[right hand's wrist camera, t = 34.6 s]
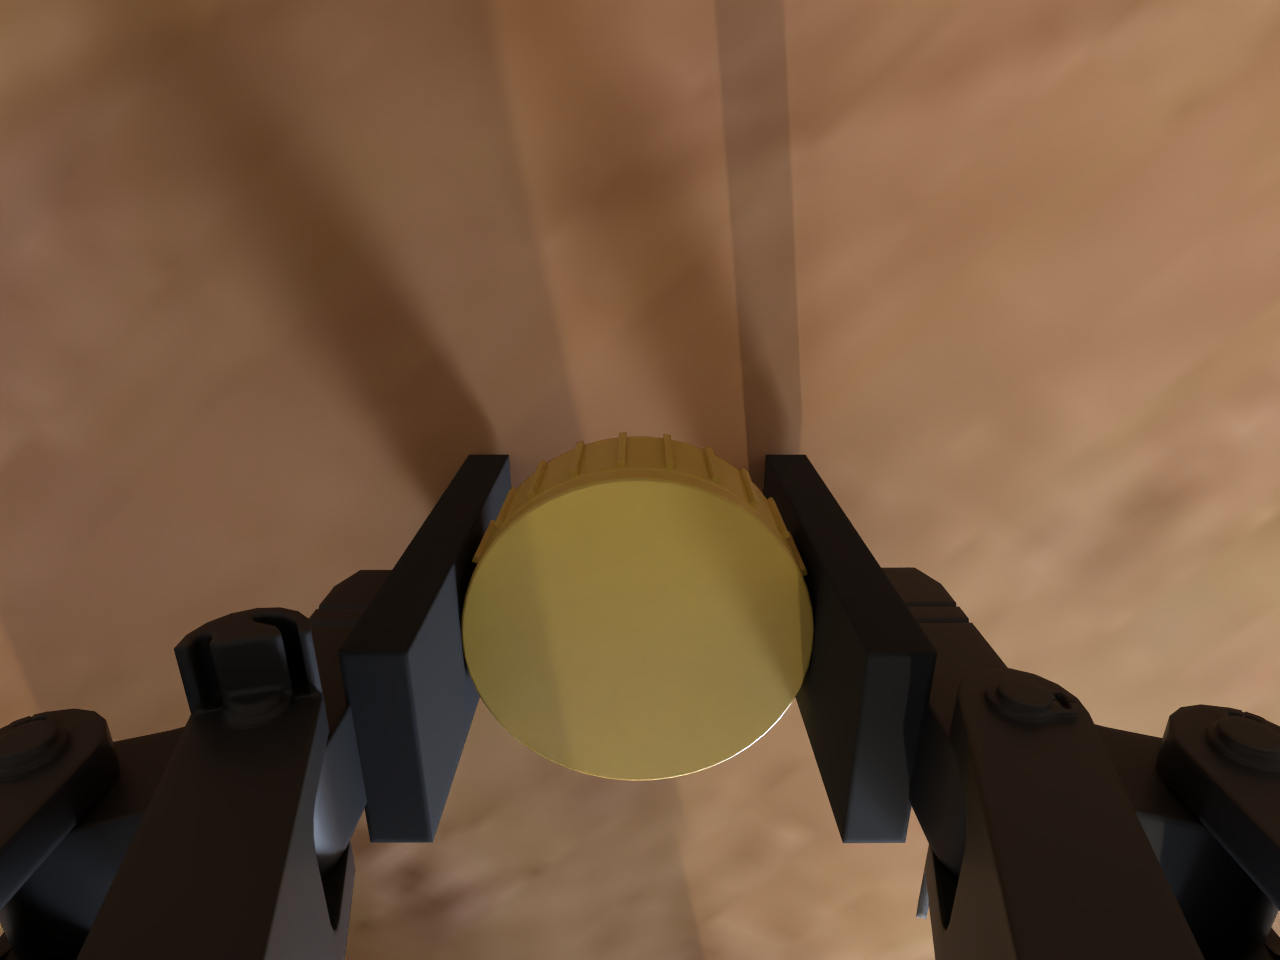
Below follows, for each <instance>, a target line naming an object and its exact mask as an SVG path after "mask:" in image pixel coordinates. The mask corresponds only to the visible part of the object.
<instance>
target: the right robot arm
mask: <svg viewBox="0 0 1280 960" xmlns="http://www.w3.org/2000/svg"><path fill="white" fill-rule="evenodd" d="M510 489H511V481H510V466H509V455H469V456H468V457H467V459H466V460H465V462H464V463H463V465H462V466H461V468H460V469H459V471H458V472H457V474H456V475H455V477H454V478H453V480H452V481H451V483H450V484H449V486H448V487H447V489H446V490H445V492H444V493H443V495H442V496H441V498H440V499H439V501H438V502H437V504H436V505H435V507H434V508H433V510H432V511H431V513H430V514H429V516H428V517H427V519H426V520H425V522H424V523H423V525H422V526H421V528H420V529H419V531H418V532H417V534H416V535H415V537H414V538H413V540H412V541H411V543H410V544H409V546H408V547H407V549H406V550H405V552H404V553H403V555H402V556H401V558H400V559H399V561H398V562H397V564H396V565H395V567H394V568H393V570H360V571H358V572H357V573H355V574H353V575H352V576H350V577H349V578H347V579H345V580H344V581H342V582H341V583H339V584H337V585H336V586H334V587H333V589H332V590H331V591H330V593H329V594H328V595H327V596H326V598H325V599H324V600H323V601H322V603H321V604H320V605H319V609H316V610H315V612H314V613H313V614H312V615H311V617H310V618H309V619H308V618H307V617H305V616H304V615H303V614H301V613H300V612H299V611H294V610H290V609H285V608H256V609H251V610H246V611H241V612H236V613H231V614H229V615H226V616H223V617H221V618H218V619H215V620H213V621H210V622H207V623H206V624H204V625H202V626H201V627H199V628H197V629H196V630H194V631H192V632H191V633H189V634H187V635H186V636H185V637H184V638H183V639H182V640H181V642H180V643H179V644H178V645H177V646H176V647H175V648H174V651H175V655H176V659H177V663H178V666H179V670H180V674H181V678H182V681H183V685H184V689H185V693H186V696H187V700H188V704H189V708H190V711H191V716H190V718H189V720H188V722H187V724H186V726H185V727H182V728H178V729H175V730H171V731H166V732H161V733H156V734H151V735H146V736H141V737H136V738H131V739H126V740H121V741H116V742H113V741H112V738H111V735H110V731H109V728H108V725H107V722H106V720H105V719H104V718H103V717H101V716H100V715H99V714H97V713H96V712H95V711H88V710H81V709H67V710H59V711H51V712H44V713H39V714H35V715H34V716H32V717H30V716H28V717H25V718H22V719H19V720H16V721H14V722H12V723H11V724H9V725H7V726H5V727H3V728H1V729H0V923H1V925H2V928H3V930H4V933H3V934H2V935H1V936H0V960H345V953H346V945H347V936H348V927H349V919H350V910H351V901H352V893H353V884H354V876H355V866H354V859H353V853H352V847H351V842H350V838H351V836H352V834H353V832H354V830H355V827H356V825H357V823H358V821H359V819H360V816H361V814H362V812H363V810H364V808H365V813H366V819H367V825H368V831H369V836H370V842H433V840H434V837H435V834H436V831H437V827H438V824H439V821H440V818H441V815H442V812H443V809H444V806H445V803H446V800H447V797H448V793H449V790H450V787H451V784H452V781H453V778H454V775H455V772H456V769H457V766H458V762H459V759H460V756H461V753H462V750H463V747H464V744H465V741H466V738H467V735H468V731H469V728H470V725H471V722H472V719H473V716H474V713H475V710H476V707H477V704H478V701H479V697H480V695H479V694H478V692H477V690H476V688H475V685H474V683H473V681H472V679H471V677H470V674H469V671H468V668H467V664H466V660H465V657H464V653H463V645H462V636H461V622H462V610H463V604H464V599H465V594H466V591H467V588H468V585H469V582H470V579H471V577H472V574H473V572H474V570H475V567H476V565H477V564H476V563H474V562H472V560H473V558H474V555H475V553H476V551H477V549H478V547H479V545H480V543H481V540H482V538H483V536H484V534H485V532H486V530H487V528H488V526H489V523H490V521H491V520H494V521H496V518H497V516H498V514H499V512H500V510H501V507H502V505H503V503H504V501H505V499H506V496H507V494H508V492H509V490H510ZM763 495H764V496H765V497H766V499H769V498H770V497H772V498H773V500H774V501H775V503H776V505H777V508H778V510H779V512H780V515H781V517H782V519H783V522H784V524H785V526H786V528H787V531H788V532H790V533H791V536H792V538H793V540H794V543H795V545H796V547H797V549H798V552H799V554H800V556H801V558H802V561H803V563H804V565H805V567H806V570H807V573H808V575H806V576H803V578H804V580H805V583H806V585H807V587H808V591H809V595H810V599H811V604H812V608H813V619H814V638H813V649H812V654H811V658H810V663H809V667H808V670H807V672H806V675H805V677H804V680H803V683H802V685H801V687H800V689H799V691H798V693H797V695H796V696H795V697H796V700H797V703H798V706H799V709H800V712H801V715H802V718H803V721H804V724H805V728H806V731H807V734H808V737H809V740H810V743H811V746H812V749H813V752H814V755H815V758H816V761H817V764H818V768H819V771H820V774H821V777H822V780H823V783H824V786H825V789H826V792H827V795H828V798H829V801H830V805H831V808H832V811H833V814H834V817H835V820H836V823H837V826H838V829H839V832H840V835H841V838H842V841H843V843H905V840H906V834H907V828H908V823H909V817H910V811H911V805H912V808H913V810H914V812H915V814H916V816H917V818H918V821H919V823H920V825H921V827H922V829H923V832H924V834H925V836H926V838H927V840H928V842H929V847H928V853H927V858H926V863H925V869H924V874H923V880H922V885H921V890H920V896H919V901H918V908H917V914H916V917H918V918H922V919H926V917H927V912H928V907H929V908H930V917H931V925H932V934H933V943H934V951H935V960H1280V937H1279V936H1278V935H1277V934H1276V933H1275V931H1274V930H1273V929H1272V928H1271V927H1272V925H1273V922H1274V920H1275V918H1276V915H1277V913H1278V911H1280V726H1278V725H1275V724H1273V723H1271V722H1269V721H1267V720H1265V719H1264V718H1262V717H1260V716H1257V715H1254V714H1251V713H1248V712H1245V713H1244V712H1242V710H1237V709H1233V708H1227V707H1218V706H1209V705H1194V706H1187V707H1181V708H1179V709H1178V710H1177V711H1175V712H1174V713H1173V714H1171V715H1170V716H1169V720H1168V723H1167V726H1166V729H1165V732H1164V736H1163V738H1158V737H1153V736H1148V735H1143V734H1138V733H1133V732H1128V731H1123V730H1118V729H1113V728H1108V727H1103V726H1099V725H1095V724H1094V723H1093V721H1092V718H1091V716H1090V714H1089V713H1088V711H1087V710H1086V709H1085V707H1084V706H1083V705H1082V704H1081V702H1080V701H1079V700H1078V698H1076V697H1075V696H1074V695H1072V694H1071V693H1069V692H1068V691H1067V690H1065V689H1064V688H1062V687H1061V686H1059V685H1058V684H1056V683H1053V682H1051V681H1049V680H1047V679H1044V678H1042V677H1040V676H1037V675H1035V674H1031V673H1027V672H1023V671H1019V670H1014V669H1010V668H1007V666H1006V665H1005V664H1004V663H1003V661H1002V660H1001V659H1000V657H999V656H998V655H997V654H996V652H995V651H994V650H993V649H992V647H991V646H990V645H989V644H988V642H987V641H986V640H985V639H984V637H983V636H982V635H981V634H980V632H979V631H978V630H977V629H976V627H975V626H974V625H973V624H972V623H969V619H968V617H967V616H966V615H965V614H964V612H963V611H962V610H961V609H960V607H956V602H955V601H954V600H953V598H952V597H951V596H950V595H949V593H948V592H947V591H946V590H945V588H944V587H943V586H942V585H941V584H940V583H939V582H937V581H935V580H934V579H932V578H931V577H929V576H927V575H926V574H924V573H922V572H921V571H919V570H918V569H916V568H881V567H880V566H879V564H878V563H877V561H876V560H875V558H874V557H873V555H872V554H871V552H870V551H869V549H868V548H867V546H866V545H865V543H864V542H863V540H862V539H861V537H860V536H859V534H858V533H857V531H856V530H855V528H854V527H853V525H852V524H851V522H850V521H849V519H848V518H847V516H846V515H845V513H844V512H843V510H842V509H841V507H840V506H839V504H838V503H837V501H836V500H835V498H834V497H833V495H832V494H831V492H830V491H829V489H828V488H827V486H826V485H825V483H824V482H823V480H822V479H821V477H820V476H819V474H818V473H817V471H816V470H815V468H814V467H813V465H812V464H811V462H810V461H809V459H808V458H807V456H806V455H766V463H765V479H764V494H763Z"/></svg>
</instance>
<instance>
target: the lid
mask: <svg viewBox="0 0 1280 960" xmlns="http://www.w3.org/2000/svg"><path fill="white" fill-rule="evenodd" d="M472 562H474V563H476V564H477V565H476V567H475V570H474V572H473V574H472V577H471V579H470V582H469V585H468V588H467V591H466V594H465V599H464V604H463V610H462V622H461V636H462V645H463V653H464V657H465V660H466V664H467V668H468V671H469V674H470V677H471V679H472V681H473V683H474V685H475V688H476V690H477V692H478V694H479V695H480V697H481V699H482V700H483V702H484V703H485V705H486V707H487V708H488V710H489V711H490V712H491V713H492V714H493V716H494V717H495V718H496V719H497V720H498V722H499V723H500V724H501V725H502V726H503V727H504V728H505V729H506V730H507V731H508V732H509V733H511V734H512V735H513V736H514V737H515V738H516V739H517V740H519V741H520V742H521V743H523V744H524V745H526V746H527V747H528V748H530V749H531V750H532V751H534V752H536V753H538V754H540V755H541V756H543V757H545V758H547V759H548V760H550V761H553V762H555V763H557V764H560V765H562V766H564V767H567V768H569V769H572V770H575V771H579V772H582V773H585V774H589V775H593V776H599V777H604V778H609V779H619V780H631V781H632V780H658V779H666V778H674V777H678V776H682V775H687V774H691V773H695V772H698V771H701V770H704V769H707V768H709V767H712V766H715V765H717V764H719V763H721V762H723V761H725V760H727V759H730V758H732V757H733V756H735V755H737V754H738V753H740V752H742V751H743V750H745V749H746V748H748V747H750V746H751V745H752V744H753V743H755V742H756V741H757V740H758V739H760V738H761V737H762V736H763V735H765V734H766V733H767V732H768V731H769V730H770V729H771V728H772V727H773V726H774V725H775V724H776V723H777V722H778V721H779V719H780V718H781V717H782V715H783V714H784V713H785V712H786V710H787V709H788V708H789V706H790V705H791V703H792V702H793V700H794V698H795V696H796V695H797V693H798V691H799V689H800V687H801V685H802V683H803V680H804V677H805V675H806V672H807V670H808V667H809V663H810V658H811V654H812V649H813V638H814V619H813V608H812V604H811V599H810V595H809V591H808V587H807V585H806V583H805V580H804V578H803V576H806V575H808V573H807V570H806V567H805V565H804V563H803V561H802V558H801V556H800V554H799V552H798V549H797V547H796V545H795V543H794V540H793V538H792V536H791V533H790V532H788V531H787V528H786V526H785V524H784V522H783V519H782V517H781V515H780V512H779V510H778V508H777V505H776V503H775V501H774V500H773V498H772V497H770V498H769V499H766V497H765V496H764V495H763V494H762V492H761V491H760V490H759V489H758V488H757V486H756V485H755V484H754V483H753V482H752V481H751V478H750V475H749V473H748V471H747V470H746V469H744V468H742V469H741V470H740V471H739V470H738V469H736V468H735V467H734V466H732V465H731V464H729V463H728V462H726V461H725V460H723V459H721V458H719V457H717V456H716V455H714V453H713V449H712V448H710V447H708V446H706V447H705V449H704V450H703V449H700V448H698V447H695V446H692V445H690V444H687V443H683V442H678V441H674V440H671V435H667V434H664V435H663V438H655V437H645V436H644V437H627V433H626V432H625V433H619V438H613V439H606V440H601V441H597V442H594V443H590V444H586V445H584V442H583V441H581V442H578V443H576V447H575V449H573V450H571V451H568V452H566V453H564V454H562V455H560V456H558V457H557V458H555V459H553V460H551V461H550V462H548V463H546V461H545V460H542V461H541V462H539V464H538V466H537V469H536V471H535V472H534V473H533V474H532V475H531V476H529V477H528V478H527V479H526V480H525V481H524V483H523V484H522V485H521V486H520V487H519V488H518V489H516V488H514V487H512V488H511V489H510V490H509V492H508V494H507V496H506V499H505V501H504V503H503V505H502V507H501V510H500V512H499V514H498V516H497V518H496V521H494V520H491V521H490V523H489V526H488V528H487V530H486V532H485V534H484V536H483V538H482V540H481V543H480V545H479V547H478V549H477V551H476V553H475V555H474V558H473V560H472Z"/></svg>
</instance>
